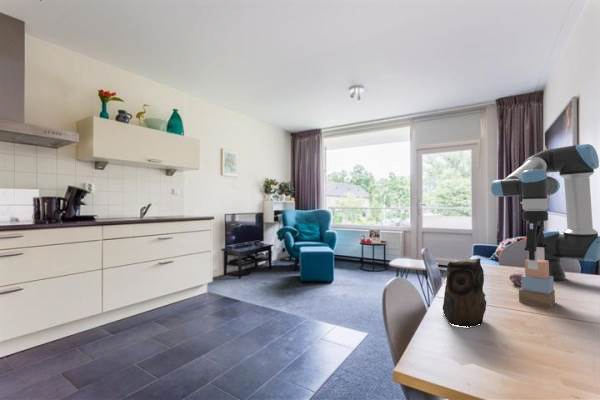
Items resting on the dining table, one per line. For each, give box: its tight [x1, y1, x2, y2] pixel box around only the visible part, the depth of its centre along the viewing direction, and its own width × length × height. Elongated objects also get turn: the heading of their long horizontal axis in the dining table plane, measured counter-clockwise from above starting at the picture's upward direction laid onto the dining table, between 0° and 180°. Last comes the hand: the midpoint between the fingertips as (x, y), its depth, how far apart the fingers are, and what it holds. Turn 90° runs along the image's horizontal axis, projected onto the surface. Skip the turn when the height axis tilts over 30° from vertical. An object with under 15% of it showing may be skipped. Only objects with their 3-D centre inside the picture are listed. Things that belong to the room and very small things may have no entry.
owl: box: [442, 257, 487, 327], centre depth 90 cm, size 13×13×20 cm
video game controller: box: [509, 273, 525, 287], centre depth 128 cm, size 10×5×7 cm, turn 26°
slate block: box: [521, 273, 555, 294], centre depth 108 cm, size 8×8×5 cm
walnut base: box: [518, 286, 556, 309], centre depth 108 cm, size 9×9×5 cm
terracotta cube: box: [524, 258, 549, 279], centre depth 108 cm, size 6×6×6 cm
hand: (536, 266), depth 108 cm, fingers open, 13 cm apart
